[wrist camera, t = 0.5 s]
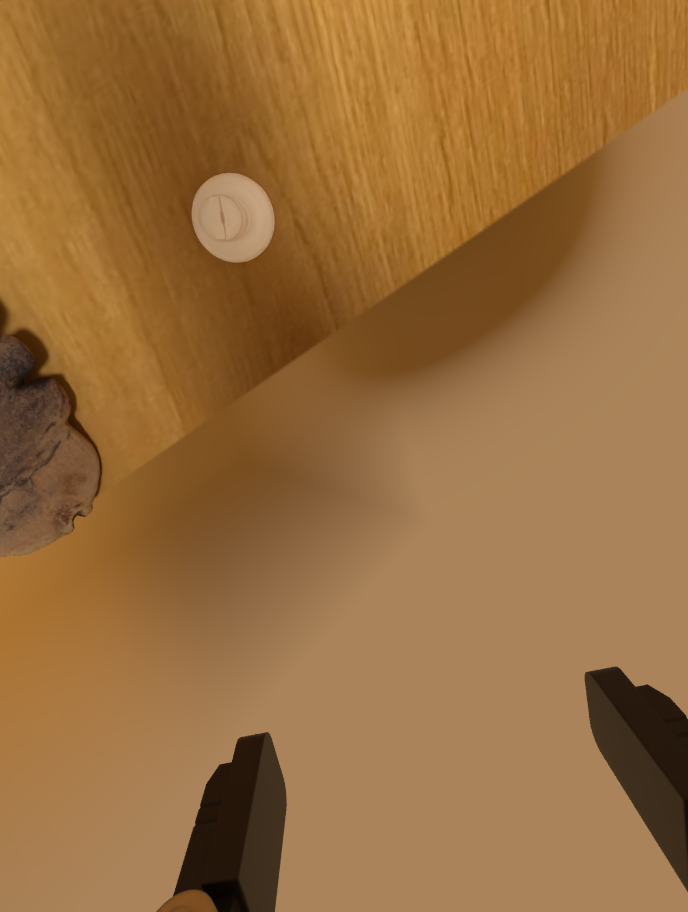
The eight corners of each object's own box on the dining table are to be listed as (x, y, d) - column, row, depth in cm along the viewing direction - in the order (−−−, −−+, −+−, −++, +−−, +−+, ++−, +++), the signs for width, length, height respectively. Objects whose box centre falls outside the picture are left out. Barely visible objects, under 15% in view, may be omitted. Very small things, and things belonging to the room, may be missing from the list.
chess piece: (268, 169, 30) (264, 147, 21) (279, 258, 32) (280, 272, 23) (183, 176, 30) (142, 157, 21) (200, 266, 32) (170, 284, 23)
